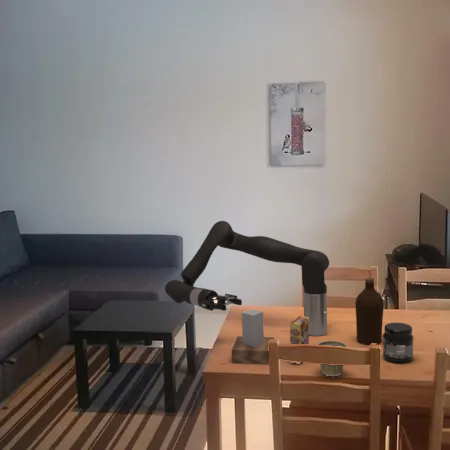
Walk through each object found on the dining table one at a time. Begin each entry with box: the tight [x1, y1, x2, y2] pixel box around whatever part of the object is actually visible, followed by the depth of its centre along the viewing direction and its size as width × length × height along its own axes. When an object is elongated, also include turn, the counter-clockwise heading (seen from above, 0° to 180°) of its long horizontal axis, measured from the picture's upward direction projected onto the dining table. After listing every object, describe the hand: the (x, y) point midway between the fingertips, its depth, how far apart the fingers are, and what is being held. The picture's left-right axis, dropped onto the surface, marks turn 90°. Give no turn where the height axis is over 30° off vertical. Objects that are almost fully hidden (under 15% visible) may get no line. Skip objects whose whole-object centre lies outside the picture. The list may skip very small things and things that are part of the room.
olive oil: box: [354, 277, 385, 346], centre depth 236 cm, size 11×11×25 cm
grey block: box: [241, 308, 265, 347], centre depth 224 cm, size 6×6×12 cm
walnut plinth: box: [231, 335, 275, 365], centre depth 226 cm, size 14×14×5 cm
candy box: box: [289, 315, 310, 363], centre depth 220 cm, size 9×4×15 cm, turn 151°
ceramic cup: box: [316, 340, 348, 376], centre depth 207 cm, size 13×10×10 cm
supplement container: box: [382, 322, 414, 364], centre depth 219 cm, size 10×10×12 cm
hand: (233, 305), depth 230 cm, fingers open, 8 cm apart
